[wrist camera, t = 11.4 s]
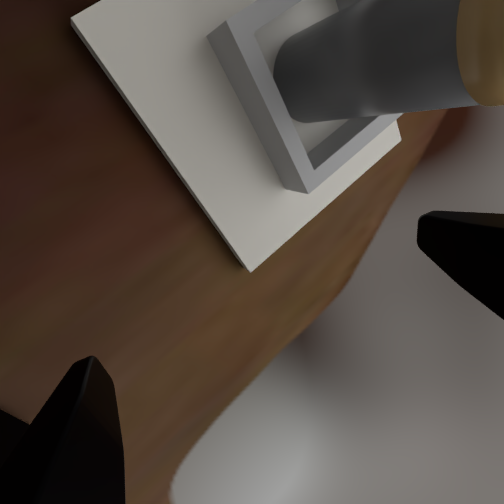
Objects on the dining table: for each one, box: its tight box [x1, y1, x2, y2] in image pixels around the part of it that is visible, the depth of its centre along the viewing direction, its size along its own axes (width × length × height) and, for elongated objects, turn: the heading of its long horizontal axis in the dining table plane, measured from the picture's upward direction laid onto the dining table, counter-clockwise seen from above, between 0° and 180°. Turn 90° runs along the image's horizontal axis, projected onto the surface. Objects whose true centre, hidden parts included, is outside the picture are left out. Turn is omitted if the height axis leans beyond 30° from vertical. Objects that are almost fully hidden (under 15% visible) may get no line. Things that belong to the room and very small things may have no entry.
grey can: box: [273, 0, 504, 123], centre depth 14 cm, size 5×5×13 cm
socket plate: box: [71, 0, 403, 273], centre depth 19 cm, size 16×16×4 cm
